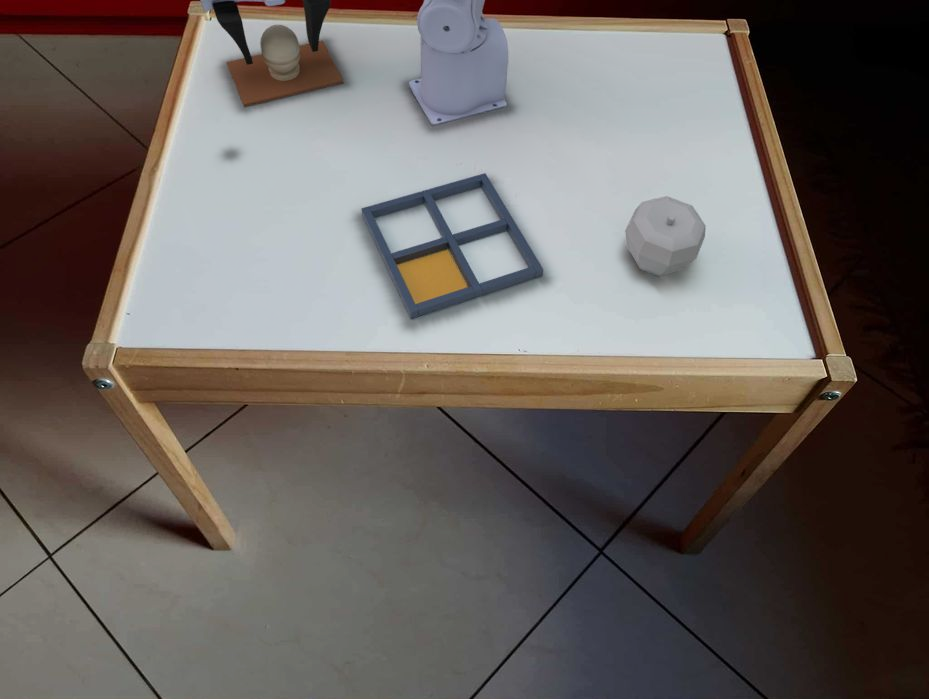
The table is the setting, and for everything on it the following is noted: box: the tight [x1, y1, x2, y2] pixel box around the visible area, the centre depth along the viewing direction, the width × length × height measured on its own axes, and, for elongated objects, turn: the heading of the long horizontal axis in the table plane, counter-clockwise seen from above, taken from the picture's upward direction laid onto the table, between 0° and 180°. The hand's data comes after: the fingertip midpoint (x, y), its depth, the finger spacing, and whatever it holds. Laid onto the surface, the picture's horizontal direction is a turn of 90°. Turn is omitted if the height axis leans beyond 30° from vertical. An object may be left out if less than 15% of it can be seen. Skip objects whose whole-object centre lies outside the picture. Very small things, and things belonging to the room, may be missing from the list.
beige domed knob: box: [259, 24, 301, 81], centre depth 87 cm, size 4×4×6 cm
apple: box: [624, 195, 707, 277], centre depth 74 cm, size 8×8×7 cm
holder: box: [360, 172, 544, 320], centre depth 76 cm, size 14×14×2 cm
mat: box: [226, 40, 344, 107], centre depth 90 cm, size 12×8×1 cm, turn 113°
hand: (281, 52), depth 87 cm, fingers open, 7 cm apart
